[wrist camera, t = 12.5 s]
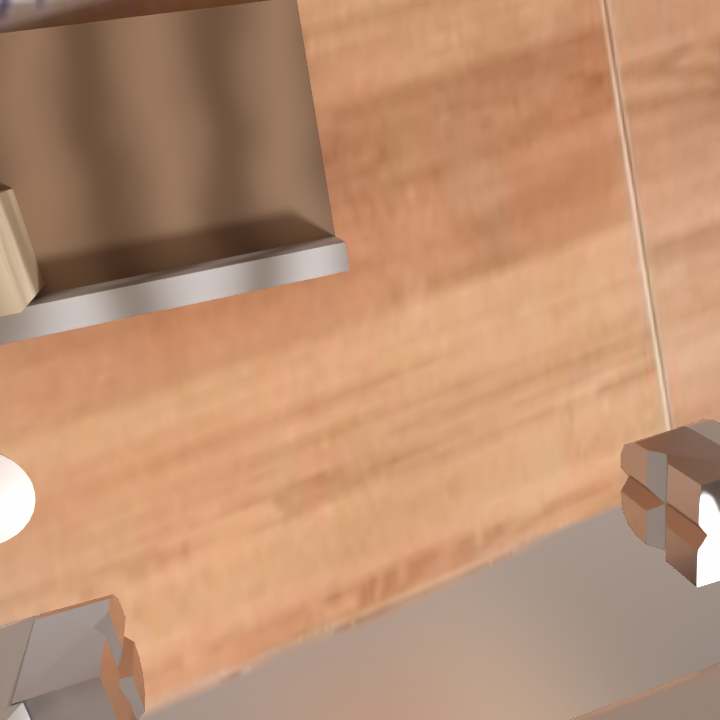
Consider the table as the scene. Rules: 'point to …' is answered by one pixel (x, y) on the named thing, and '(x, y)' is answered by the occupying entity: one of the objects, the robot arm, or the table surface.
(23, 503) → the champagne flute
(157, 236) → the walnut board
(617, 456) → the table surface
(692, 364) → the table surface
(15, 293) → the marking gauge
